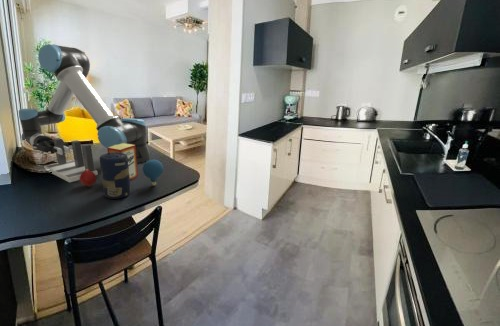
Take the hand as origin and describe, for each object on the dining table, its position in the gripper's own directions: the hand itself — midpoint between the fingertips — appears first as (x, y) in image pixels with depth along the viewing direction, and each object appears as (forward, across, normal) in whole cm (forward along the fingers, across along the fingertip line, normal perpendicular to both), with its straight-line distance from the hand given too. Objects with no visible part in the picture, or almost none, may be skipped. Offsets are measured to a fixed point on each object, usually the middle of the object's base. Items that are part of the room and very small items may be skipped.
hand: (65, 151), depth 117 cm
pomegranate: (+25, +4, -10) cm, 27 cm away
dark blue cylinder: (+41, +1, -10) cm, 42 cm away
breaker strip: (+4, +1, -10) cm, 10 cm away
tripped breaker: (-5, 0, -7) cm, 9 cm away
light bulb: (+44, -14, -10) cm, 47 cm away
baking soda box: (+28, -10, -10) cm, 32 cm away
